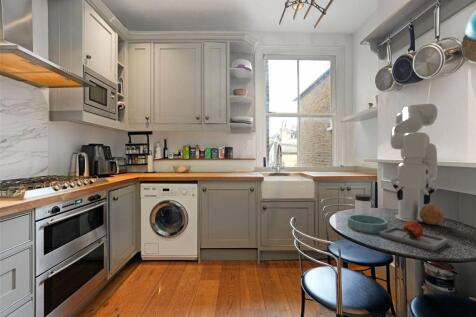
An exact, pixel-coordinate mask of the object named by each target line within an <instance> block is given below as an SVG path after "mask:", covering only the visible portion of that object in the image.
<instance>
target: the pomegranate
mask: <svg viewBox="0 0 476 317" xmlns="http://www.w3.org/2000/svg"><path fill="white" fill-rule="evenodd" d="M421 224H422V222H415V221H405V223H404V224H403V229H404V230H405V231H406V232H407V234H406V235H405V236H407V235H409V236H411V237H414V238H420V237H421V236H422V235H423V233H424V228H423V226H422V225H421ZM405 236H404V237H405Z"/></svg>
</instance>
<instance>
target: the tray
mask: <svg viewBox="0 0 476 317" xmlns="http://www.w3.org/2000/svg"><path fill="white" fill-rule="evenodd" d="M378 234H379V235H378V236H379V237H381V238H385V239H388V240H392V241H395V242H398V243H400V244H406V245H409V246H413V247H416V248H419V249H422V250H427V251H430V252H432V253H433V252H436V251H438V250H439V249H441V248H443V247H445V246H446V245H449V239H448V238H445V237H442V236H441V237H440V236H436V235H432V234H427V233H424V232H423V235H422V236H421V237H420V238H414V237H411V236H409V235H407V236H405V235H406V234H407V232H406V231H405V230H404V229H403V228H402V227H398V226H392V227H389V228H387V229H386V230H383V231H380V232H379V233H378ZM404 236H405V237H404Z"/></svg>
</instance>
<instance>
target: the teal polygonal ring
mask: <svg viewBox="0 0 476 317" xmlns="http://www.w3.org/2000/svg"><path fill="white" fill-rule="evenodd" d="M347 227H349V228H350V229H352V230H354V229H355V231H358V232H362V233H369V234H379V232H380V231H383V230H386V229H388V220H387V219H385V218H382V217H379V216H374V215H371V216H369V215H355V214H352V215H348V216H347Z"/></svg>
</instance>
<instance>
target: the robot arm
mask: <svg viewBox="0 0 476 317" xmlns="http://www.w3.org/2000/svg"><path fill="white" fill-rule="evenodd" d="M437 118H438V107H437V106H436V105H435V104H434V103H420V104H410V105H407V106H405V107H404V108H403V109H402V111H401V112H398V113H397V114H396V115H395V124H396V125H395V126H394V127H392V130H391V132H390V146H391V148H392V149H394V150H400V156H401V159H402V162H401V163H399V164H398V165H397V169H396V170H397V178H394V179H391V180H390V183H391V185H392V187H393V189H394V190H395V191H396V199H397V201H398V205H397V206H398V211H397V212H398V214H395V216H394V218H395V219H397V220H398V221H403V222H408V221H415V222H417V223H420V222H421V223H422V222H424V221H423V220H422V219H421V218H420V216H419V213H420V204H421V203H420V202H421V201H420V199H421V198H420V197H421V194H420V193H421V191H423V193H424V195H423V205H424V206H426V205H430V202H431V195H432V194H433V193H435V192H436V190H438V188H439V186H440V185H439V184H437V183H436V182H434V181H435V180H436V179H437V178H438V151H437V147H436V145H435V144H434V143H431V142H430V141H431V140H430V136H429V135H428V134H427V133H425V132H422V131H421V132H419V131H420V130H421V129H422V128H423V127H425V126H426V127H427V126H432V125H433V124H434V123H435V121H436V119H437ZM397 182H398V184H397ZM430 186H432V188H430ZM429 188H430V189H429Z"/></svg>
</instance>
